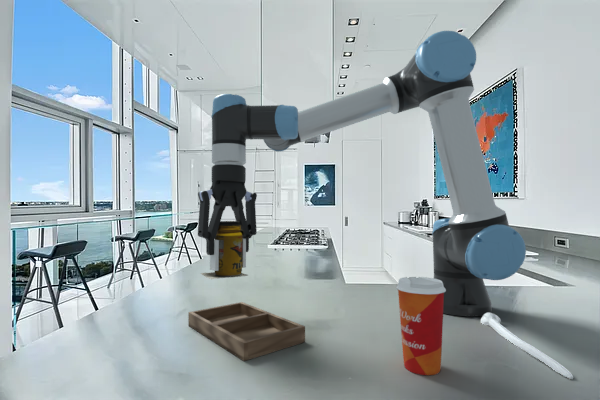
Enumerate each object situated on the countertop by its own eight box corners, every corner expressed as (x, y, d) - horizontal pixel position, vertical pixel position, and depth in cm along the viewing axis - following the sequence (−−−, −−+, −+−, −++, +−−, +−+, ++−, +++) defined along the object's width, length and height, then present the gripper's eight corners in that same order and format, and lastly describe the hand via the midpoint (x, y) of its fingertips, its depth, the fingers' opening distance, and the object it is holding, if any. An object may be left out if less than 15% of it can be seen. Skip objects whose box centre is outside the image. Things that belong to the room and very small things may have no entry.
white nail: (593, 383, 52) (592, 364, 52) (565, 383, 52) (564, 363, 52) (496, 323, 80) (495, 310, 80) (477, 323, 80) (477, 310, 80)
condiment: (248, 276, 77) (249, 221, 78) (211, 280, 73) (211, 221, 73) (235, 271, 83) (236, 220, 84) (200, 274, 79) (200, 221, 79)
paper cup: (390, 358, 60) (389, 276, 61) (433, 356, 61) (432, 275, 61) (408, 380, 52) (406, 286, 53) (457, 377, 53) (455, 284, 54)
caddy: (305, 341, 68) (305, 326, 68) (243, 361, 60) (243, 343, 60) (241, 314, 87) (241, 302, 87) (188, 325, 79) (188, 312, 79)
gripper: (255, 169, 88) (255, 262, 87) (180, 163, 76) (179, 270, 75) (273, 167, 82) (272, 266, 82) (194, 159, 70) (193, 275, 70)
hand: (228, 268), depth 78 cm, fingers closed on condiment, 6 cm apart
